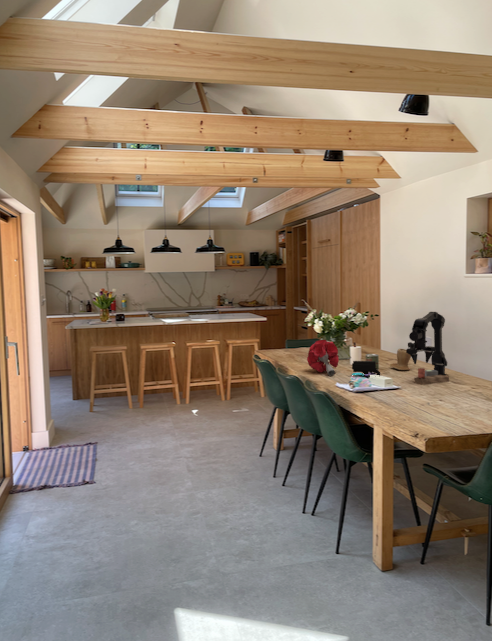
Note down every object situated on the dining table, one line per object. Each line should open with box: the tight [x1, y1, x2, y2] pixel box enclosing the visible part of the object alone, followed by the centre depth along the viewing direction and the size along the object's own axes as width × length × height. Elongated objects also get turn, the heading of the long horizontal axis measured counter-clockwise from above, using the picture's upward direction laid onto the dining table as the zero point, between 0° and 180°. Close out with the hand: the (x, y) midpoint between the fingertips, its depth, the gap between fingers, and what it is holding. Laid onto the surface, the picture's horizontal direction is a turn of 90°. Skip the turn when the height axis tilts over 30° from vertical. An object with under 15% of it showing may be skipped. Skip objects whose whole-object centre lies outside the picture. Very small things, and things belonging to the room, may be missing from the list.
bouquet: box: [306, 339, 340, 377], centre depth 356 cm, size 22×24×30 cm
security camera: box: [351, 360, 381, 376], centre depth 342 cm, size 7×18×10 cm, turn 79°
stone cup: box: [389, 348, 412, 371], centre depth 363 cm, size 15×12×15 cm
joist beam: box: [413, 375, 450, 385], centre depth 320 cm, size 21×7×3 cm, turn 111°
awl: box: [417, 367, 426, 379], centre depth 317 cm, size 4×4×9 cm
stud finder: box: [425, 369, 438, 376], centre depth 331 cm, size 8×4×5 cm, turn 102°
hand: (420, 363), depth 321 cm, fingers open, 9 cm apart
